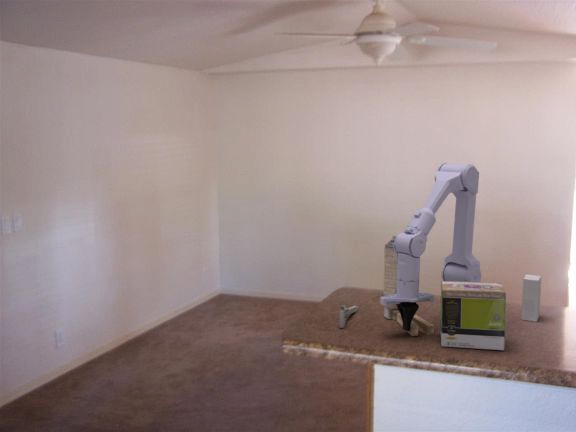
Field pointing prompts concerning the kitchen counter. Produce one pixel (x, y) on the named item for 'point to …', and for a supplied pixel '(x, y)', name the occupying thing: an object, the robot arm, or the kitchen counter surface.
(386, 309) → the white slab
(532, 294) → the skincare box
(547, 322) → the kitchen counter surface
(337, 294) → the kitchen counter surface
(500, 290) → the tea box
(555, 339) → the kitchen counter surface
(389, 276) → the cream cylinder
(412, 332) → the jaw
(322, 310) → the kitchen counter surface
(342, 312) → the caliper
